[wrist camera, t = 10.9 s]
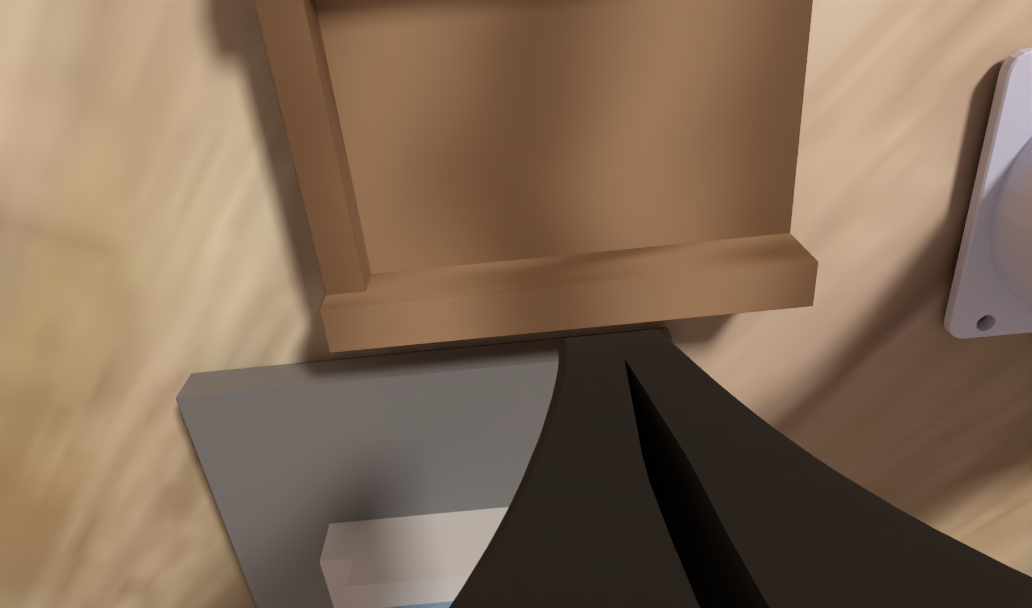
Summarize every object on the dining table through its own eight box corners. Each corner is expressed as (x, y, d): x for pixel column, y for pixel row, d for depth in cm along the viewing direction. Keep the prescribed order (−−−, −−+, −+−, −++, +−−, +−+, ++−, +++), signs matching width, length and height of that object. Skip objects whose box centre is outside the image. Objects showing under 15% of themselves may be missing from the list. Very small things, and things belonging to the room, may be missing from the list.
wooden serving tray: (815, -187, 15) (874, -207, 13) (775, 261, 20) (813, 306, 18) (249, -128, 15) (206, -137, 13) (348, 303, 20) (330, 352, 18)
